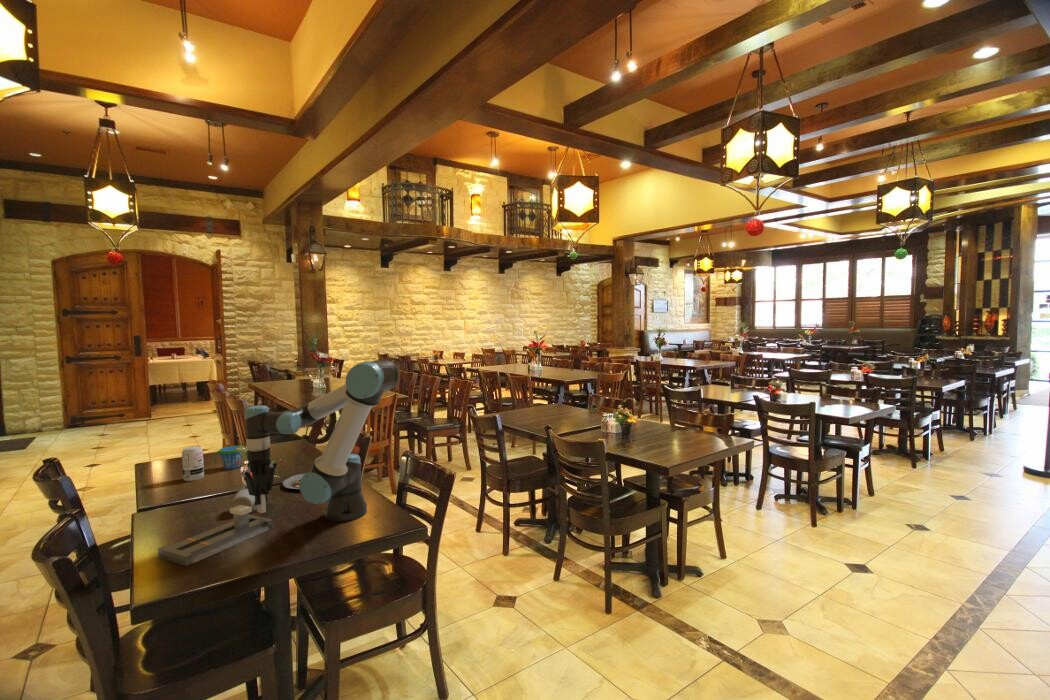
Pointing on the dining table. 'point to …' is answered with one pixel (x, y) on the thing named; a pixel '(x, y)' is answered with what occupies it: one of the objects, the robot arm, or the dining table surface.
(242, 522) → the fader tab
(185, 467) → the supplement can
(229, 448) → the snack cup
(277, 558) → the dining table surface
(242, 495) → the ceramic mug
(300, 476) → the food plate
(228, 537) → the slider track base
